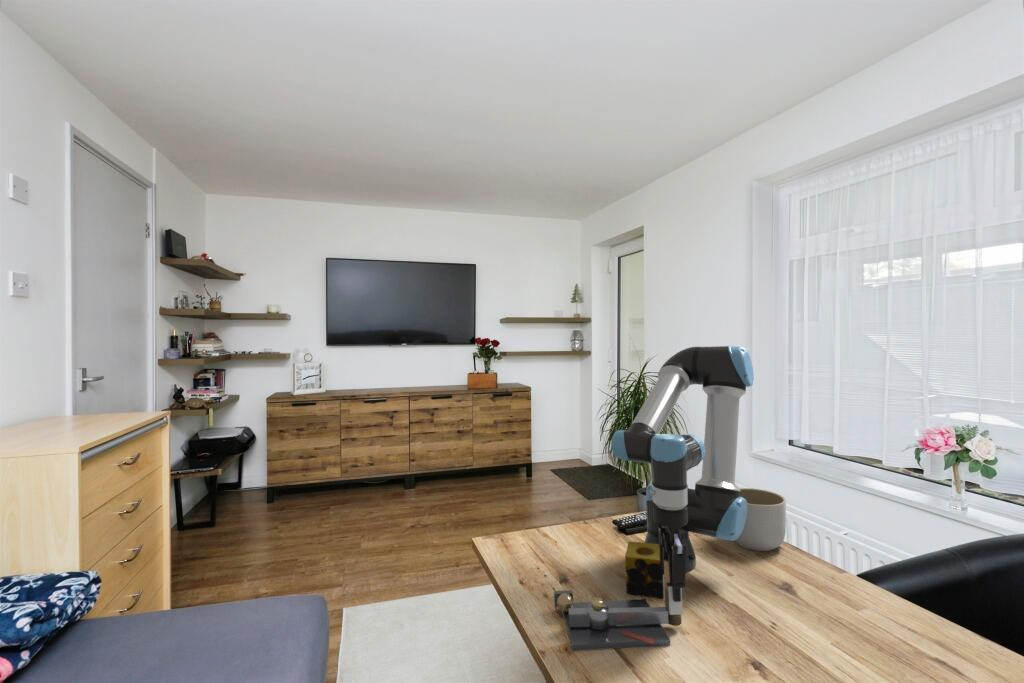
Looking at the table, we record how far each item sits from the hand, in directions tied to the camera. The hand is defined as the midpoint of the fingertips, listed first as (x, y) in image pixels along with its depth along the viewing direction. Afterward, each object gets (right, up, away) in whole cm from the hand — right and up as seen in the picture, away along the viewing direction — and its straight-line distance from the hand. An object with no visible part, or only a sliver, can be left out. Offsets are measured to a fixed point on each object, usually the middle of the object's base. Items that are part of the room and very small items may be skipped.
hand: (672, 608), depth 106 cm
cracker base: (-14, -5, +1) cm, 15 cm away
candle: (-1, -5, +18) cm, 19 cm away
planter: (+40, -4, +42) cm, 58 cm away
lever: (-11, -3, 0) cm, 11 cm away
